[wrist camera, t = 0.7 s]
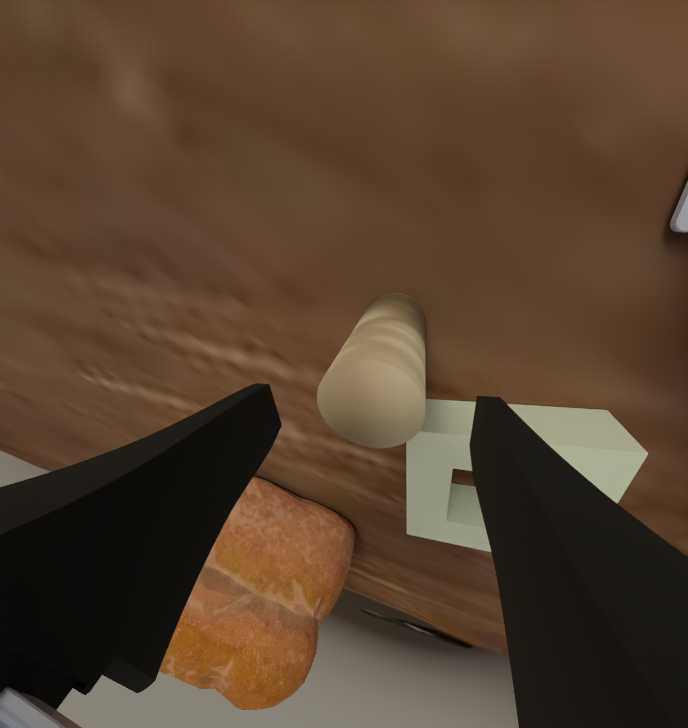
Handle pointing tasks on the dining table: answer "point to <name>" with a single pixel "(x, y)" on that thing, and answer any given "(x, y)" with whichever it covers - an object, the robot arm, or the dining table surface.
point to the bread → (262, 598)
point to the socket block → (451, 450)
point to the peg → (379, 376)
